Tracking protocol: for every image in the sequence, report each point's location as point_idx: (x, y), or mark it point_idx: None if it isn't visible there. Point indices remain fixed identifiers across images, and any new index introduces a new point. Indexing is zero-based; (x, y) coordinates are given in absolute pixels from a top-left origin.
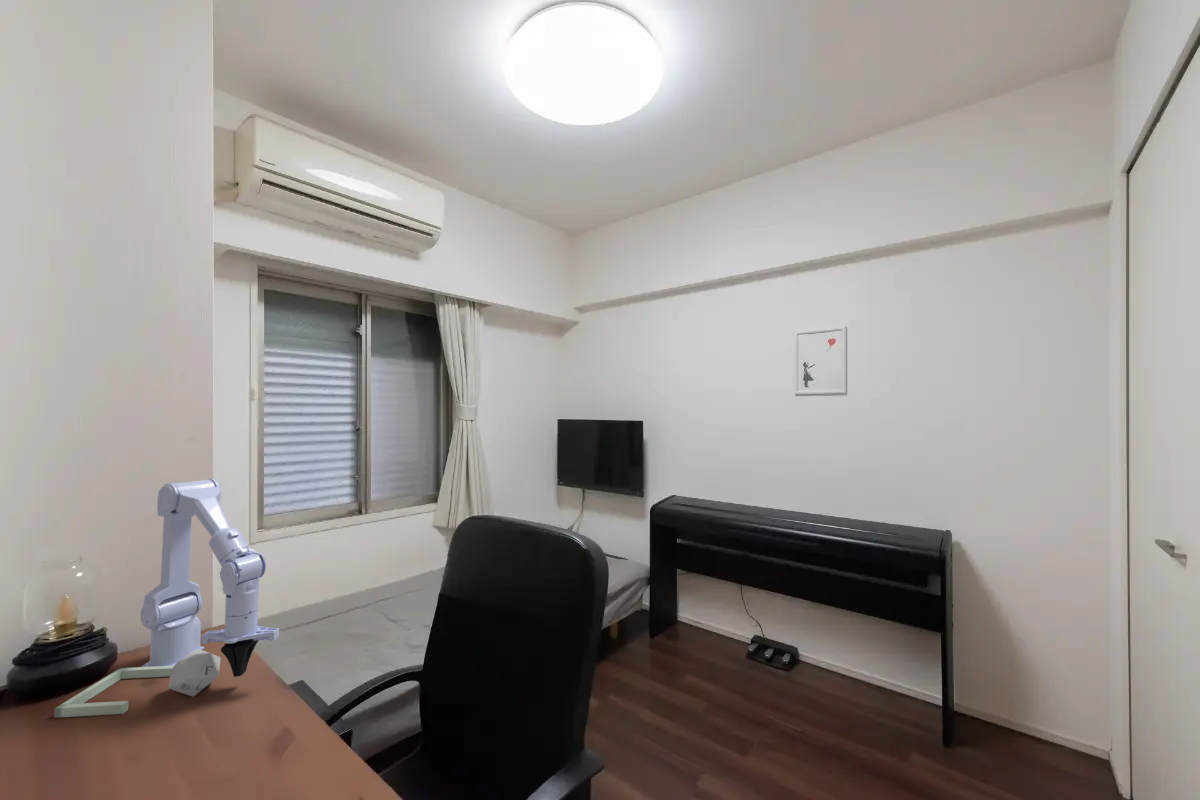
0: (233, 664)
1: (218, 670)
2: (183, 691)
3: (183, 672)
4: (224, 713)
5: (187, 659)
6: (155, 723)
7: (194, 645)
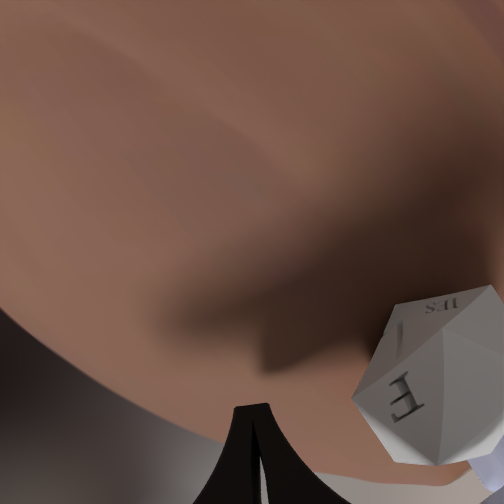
0: (268, 452)
1: (365, 416)
2: (436, 299)
3: (493, 338)
4: (152, 195)
5: None
6: (410, 125)
7: None
